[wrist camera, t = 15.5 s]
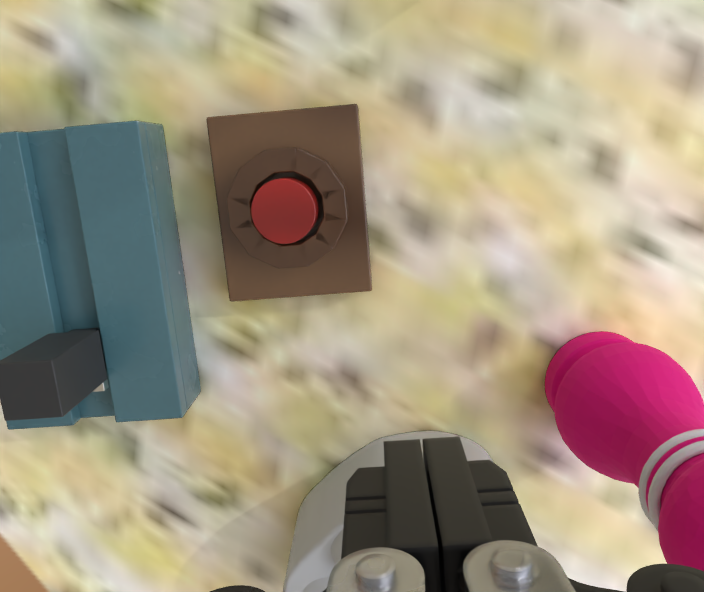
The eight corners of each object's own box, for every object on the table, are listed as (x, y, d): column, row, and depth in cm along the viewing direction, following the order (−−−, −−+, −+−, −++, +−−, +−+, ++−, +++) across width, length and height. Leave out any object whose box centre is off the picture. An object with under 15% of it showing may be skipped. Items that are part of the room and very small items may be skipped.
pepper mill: (515, 410, 38) (663, 673, 19) (569, 304, 37) (790, 471, 17) (622, 453, 39) (874, 753, 19) (679, 349, 37) (1016, 563, 18)
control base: (-10, 139, 36) (-64, 137, 31) (163, 124, 35) (133, 119, 31) (43, 402, 39) (1, 434, 35) (201, 392, 39) (179, 422, 34)
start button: (253, 179, 32) (247, 181, 31) (315, 174, 32) (312, 175, 30) (260, 241, 33) (254, 246, 31) (321, 237, 33) (318, 241, 31)
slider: (59, 326, 35) (-9, 364, 29) (109, 322, 35) (51, 360, 29) (69, 374, 36) (4, 421, 29) (117, 370, 35) (63, 417, 29)
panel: (215, 119, 35) (196, 115, 31) (358, 106, 35) (356, 100, 31) (237, 293, 37) (222, 309, 33) (371, 283, 37) (372, 298, 33)
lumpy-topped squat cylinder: (275, 513, 40) (250, 608, 32) (433, 391, 38) (451, 457, 30) (380, 621, 42) (382, 739, 34) (537, 509, 40) (581, 605, 31)
